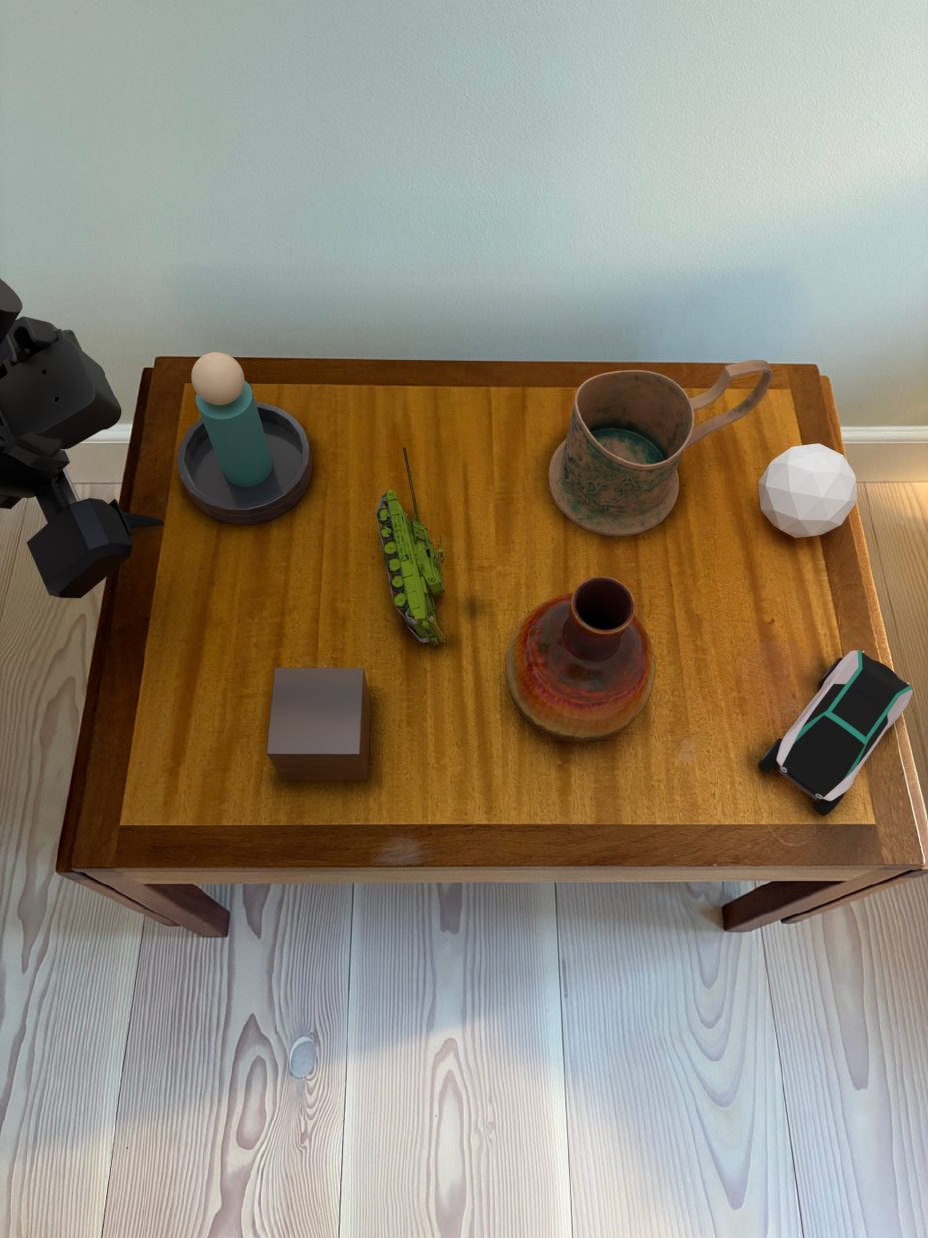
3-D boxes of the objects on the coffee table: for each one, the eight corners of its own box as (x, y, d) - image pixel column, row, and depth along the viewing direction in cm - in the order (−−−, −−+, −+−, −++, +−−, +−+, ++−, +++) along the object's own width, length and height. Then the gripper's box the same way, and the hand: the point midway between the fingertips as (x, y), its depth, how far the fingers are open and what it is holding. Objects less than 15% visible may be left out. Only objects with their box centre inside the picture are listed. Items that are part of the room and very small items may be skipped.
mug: (761, 500, 79) (812, 414, 68) (575, 551, 76) (597, 470, 65) (707, 400, 84) (747, 304, 73) (530, 444, 81) (544, 352, 70)
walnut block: (367, 781, 67) (359, 754, 61) (282, 780, 67) (265, 754, 61) (371, 701, 70) (364, 667, 64) (289, 700, 70) (274, 667, 64)
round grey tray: (308, 525, 77) (304, 510, 75) (177, 524, 77) (169, 508, 74) (316, 420, 82) (313, 402, 79) (193, 418, 81) (186, 400, 79)
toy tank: (370, 633, 67) (499, 598, 66) (334, 431, 75) (449, 398, 74) (394, 665, 73) (512, 633, 72) (359, 476, 81) (465, 446, 80)
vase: (655, 745, 69) (710, 672, 55) (515, 766, 68) (534, 696, 54) (623, 617, 74) (666, 519, 60) (491, 635, 73) (503, 539, 59)
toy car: (897, 707, 71) (930, 683, 66) (818, 821, 67) (847, 804, 62) (833, 661, 73) (861, 635, 68) (752, 770, 69) (775, 750, 64)
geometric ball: (763, 551, 73) (728, 494, 79) (844, 560, 76) (805, 504, 81) (809, 475, 69) (768, 420, 74) (895, 487, 71) (849, 432, 76)
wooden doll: (283, 466, 79) (254, 361, 66) (244, 496, 77) (207, 394, 65) (251, 437, 80) (216, 329, 68) (212, 465, 78) (170, 360, 66)
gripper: (78, 492, 47) (263, 519, 61) (-45, 220, 51) (156, 304, 65) (-42, 601, 51) (157, 603, 65) (-148, 342, 55) (62, 396, 69)
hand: (134, 473), depth 66 cm, fingers open, 9 cm apart
